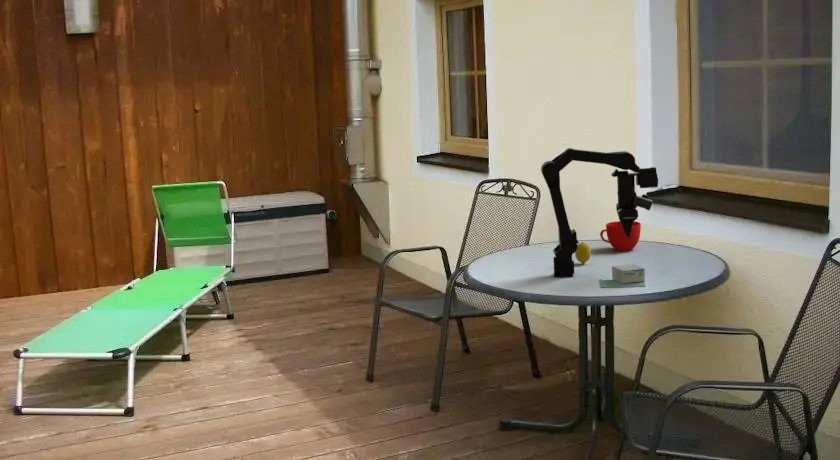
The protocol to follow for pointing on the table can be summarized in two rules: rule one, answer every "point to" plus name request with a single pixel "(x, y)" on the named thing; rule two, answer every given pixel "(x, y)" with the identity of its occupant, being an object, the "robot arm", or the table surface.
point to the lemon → (583, 252)
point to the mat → (620, 284)
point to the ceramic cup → (621, 236)
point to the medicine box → (628, 273)
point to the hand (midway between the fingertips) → (627, 234)
